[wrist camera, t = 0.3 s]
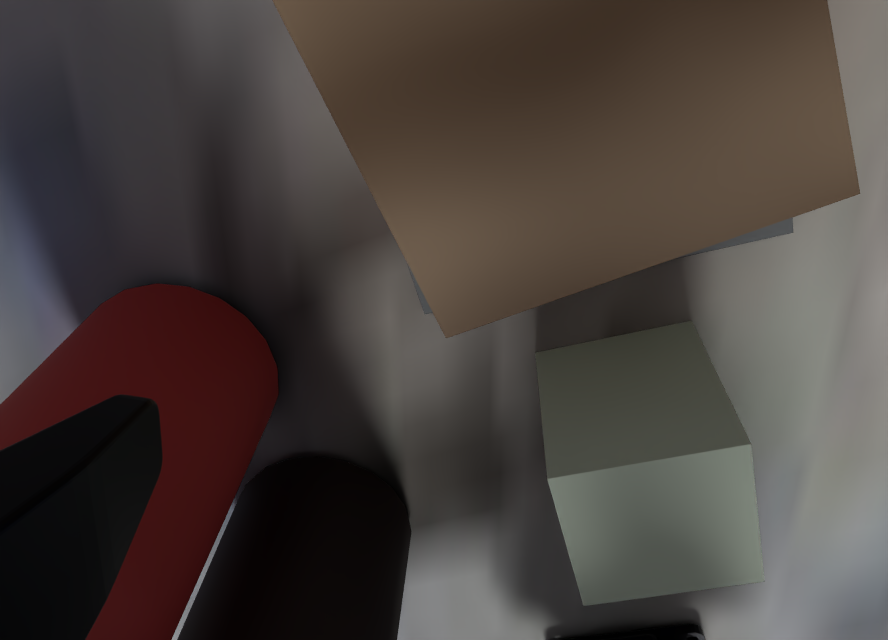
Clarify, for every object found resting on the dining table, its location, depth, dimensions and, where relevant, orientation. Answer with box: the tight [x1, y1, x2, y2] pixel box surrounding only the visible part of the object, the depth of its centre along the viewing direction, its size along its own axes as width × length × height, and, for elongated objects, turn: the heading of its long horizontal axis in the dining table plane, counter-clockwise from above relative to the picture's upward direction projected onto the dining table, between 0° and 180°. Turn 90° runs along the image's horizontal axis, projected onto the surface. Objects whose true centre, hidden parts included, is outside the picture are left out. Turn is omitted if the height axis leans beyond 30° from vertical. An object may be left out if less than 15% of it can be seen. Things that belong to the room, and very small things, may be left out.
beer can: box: [0, 283, 279, 640], centre depth 19 cm, size 7×7×12 cm
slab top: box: [273, 0, 860, 338], centre depth 15 cm, size 10×10×2 cm
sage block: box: [535, 321, 765, 606], centre depth 21 cm, size 5×5×6 cm
